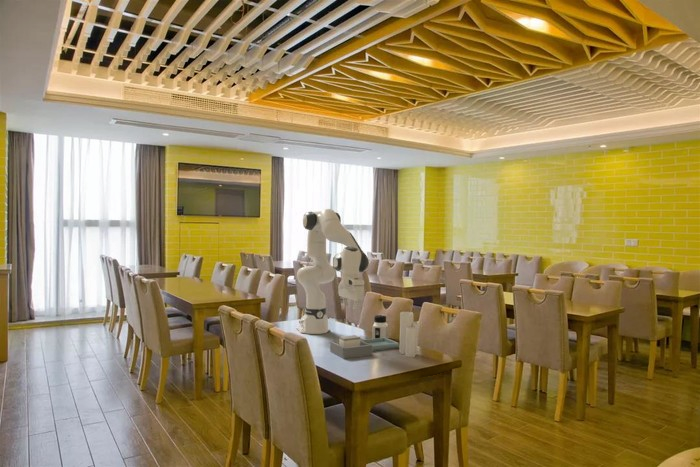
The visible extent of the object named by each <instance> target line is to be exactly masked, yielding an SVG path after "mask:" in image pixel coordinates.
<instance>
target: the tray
mask: <svg viewBox="0 0 700 467" xmlns="http://www.w3.org/2000/svg"><path fill="white" fill-rule="evenodd" d="M360 340H361V341H364V342H366V343H368V344H370V345H372V352H377V351H384V350H393V349H400V342H397V341H395V340H393V339H390V338H388V337H387V338H385V337H384V338H375V339H372V338H367V339H360Z"/></svg>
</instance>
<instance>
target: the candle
mask: <svg viewBox="0 0 700 467" xmlns="http://www.w3.org/2000/svg"><path fill="white" fill-rule="evenodd" d="M418 331H419V323H418V322H414V312H412V311H401V312H400V313H399V348H398V349H399V351H398V352H399V353H400V354H401V355H405V357H408V358H415V357H416V355H418V341H419V340H418V338H419V337H418V336H419V335H418V333H419V332H418Z"/></svg>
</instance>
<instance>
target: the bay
mask: <svg viewBox="0 0 700 467" xmlns="http://www.w3.org/2000/svg"><path fill="white" fill-rule="evenodd" d="M361 340H362V339H360V346H355V347H346V348H345V347H343V346H341V345H339V344H338V343H336V342H334V341H330V342H329V344H330V346H329V352H330V353H332V354H334V355H336V356H337V357H339V358H341V359H343V360H347V359H354V358H363V357H370V356H373V351H372V345H370V344H368V343H366V342H364V341H361Z"/></svg>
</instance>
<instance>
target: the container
mask: <svg viewBox="0 0 700 467" xmlns="http://www.w3.org/2000/svg"><path fill="white" fill-rule="evenodd" d="M373 320H374V323H373V325H372V327H371V330H372V331H371V332H372V333H371V339H375V338H384V337H385V338H387V339H388V336H389V334H388V332H389V330H388V329H389V324H388V323H387V316H386V315H385V314H376V315H375V316H374V319H373Z"/></svg>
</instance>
